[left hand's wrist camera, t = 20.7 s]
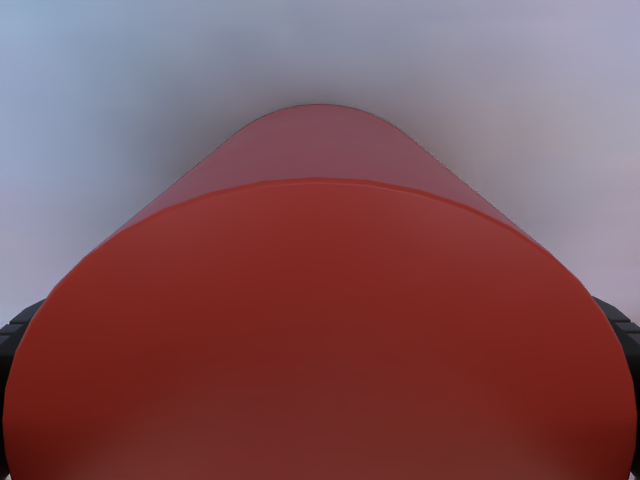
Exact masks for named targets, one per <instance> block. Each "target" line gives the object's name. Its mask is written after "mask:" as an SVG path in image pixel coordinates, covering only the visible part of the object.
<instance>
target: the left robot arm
mask: <svg viewBox="0 0 640 480" xmlns="http://www.w3.org/2000/svg"><path fill="white" fill-rule="evenodd" d="M592 297H593V299H594V300H595V301H596V302H597V304H598V305H599V306H600V308H601V309H602V310H603V312H604V313H605V315H606V317H607V319H608V321H609V323H610V324H611V326H612V328H613V330H614V332H615V334H616V336H617V338H618V340H619V342H620V343H621V345H622V348H623V351H624V355H625V358H626V361H627V364H628V367H629V370H630V373H631V377H632V380H633V385H634V393H635V401H636V409H637V432H636V449H635V453H634V458H633V462H632V467H631V472H632V474H633V475H634V476H635V478H634V480H640V327H638V326H637V325H636V324H635V323H631V320H630V319H629V318H627V317H626V316H625V315H624V314H623V313H621V312H620V311H619V310H618V309H617V308H615V307H614V306H612V305H610V304H608V303H606V302H604V301H602V300H600V299H598V298H596V297H594V296H592ZM44 301H45V299H44V300H42V301H40V302H38V303H36V304H34V305H32V306H30V307H28V308H26V309H24V310H23V311H22V312H21V313H20V314H18V315H17V316H16V317H15V318H14V319H12V320H11V321H10V324H6V325H5V326H4V327H3V328H2V329H0V480H6V477H7V476H8V475H9V473H10V472H9V468H8V464H7V460H6V456H5V449H4V437H3V425H2V418H3V408H4V397H5V388H6V384H7V380H8V377H9V373H10V370H11V366H12V363H13V359H14V355H15V352H16V350H17V348H18V346H19V344H20V342H21V340H22V337H23V335H24V333H25V331H26V329H27V327H28V325H29V323H30V321H31V319H32V317H33V316H34V315H35V313H36V312H37V310H38V309H39V308H40V306H41V305H42V304H43V302H44Z"/></svg>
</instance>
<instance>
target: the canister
mask: <svg viewBox="0 0 640 480" xmlns="http://www.w3.org/2000/svg"><path fill="white" fill-rule="evenodd" d="M2 425H3V437H4V449H5V456H6V460H7V464H8V468H9V472H10V475H11V479H12V480H628V479H629V475H630V471H631V467H632V462H633V458H634V453H635V449H636V432H637V409H636V401H635V393H634V385H633V380H632V377H631V373H630V370H629V367H628V364H627V361H626V358H625V355H624V351H623V348H622V345H621V343H620V342H619V340H618V338H617V336H616V334H615V332H614V330H613V328H612V326H611V324H610V323H609V321H608V319H607V317H606V315H605V313H604V312H603V310H602V309H601V308H600V306H599V305H598V304H597V302H596V301H595V300H594V299H593V297H592V296H591V295H590V293H589V292H588V291H587V289H586V288H585V287H584V286H583V284H582V283H581V282H580V281H579V280H578V279H577V278H576V277H575V276H574V275H573V274H572V273H571V272H570V271H569V270H568V269H567V268H566V267H565V266H563V265H562V264H561V263H560V262H559V261H558V260H557V259H556V258H555V257H554V256H553V255H552V254H551V253H550V252H548V251H547V250H546V249H545V248H544V247H542V246H541V245H540V244H539V243H538V242H536V241H535V240H534V239H533V238H531V237H530V236H529V235H528V234H527V233H525V232H524V231H523V230H522V229H520V228H519V227H518V226H517V225H516V224H514V223H513V222H512V221H511V220H509V219H508V218H507V217H506V216H505V215H503V214H502V213H501V212H500V211H498V210H497V209H496V208H495V207H494V206H492V205H491V204H490V203H489V202H488V201H486V200H485V199H484V198H483V197H481V196H480V195H479V194H478V193H477V192H475V191H474V190H473V189H472V188H470V187H469V186H468V185H467V184H466V183H464V182H463V181H462V180H461V179H459V178H458V177H457V176H456V175H455V174H453V173H452V172H451V171H450V170H449V169H447V168H446V167H445V166H444V165H442V164H441V163H440V162H439V161H438V160H436V159H435V158H434V157H433V156H431V155H430V154H429V153H428V152H427V151H425V150H424V149H423V148H422V147H420V146H419V145H418V144H417V143H416V142H414V141H413V140H412V139H411V138H409V137H408V136H407V135H406V134H405V133H403V132H402V131H400V130H399V129H397V128H396V127H395V126H393V125H392V124H390V123H388V122H386V121H384V120H383V119H381V118H379V117H377V116H375V115H372V114H369V113H366V112H364V111H361V110H358V109H354V108H349V107H344V106H339V105H325V104H314V105H301V106H296V107H291V108H286V109H282V110H279V111H276V112H273V113H271V114H268V115H265V116H263V117H261V118H259V119H257V120H255V121H254V122H252V123H250V124H248V125H247V126H245V127H244V128H242V129H241V130H240V131H238V132H237V133H236V134H234V135H233V136H232V137H230V138H229V139H228V140H227V141H226V142H224V143H223V144H222V145H221V146H219V147H218V148H217V149H216V150H215V151H213V152H212V153H211V154H210V155H208V156H207V157H206V158H205V159H204V160H202V161H201V162H200V163H199V164H197V165H196V166H195V167H194V168H193V169H191V170H190V171H189V172H188V173H186V174H185V175H184V176H183V177H182V178H180V179H179V180H178V181H177V182H175V183H174V184H173V185H172V186H171V187H169V188H168V189H167V190H166V191H164V192H163V193H162V194H161V195H160V196H158V197H157V198H156V199H155V200H153V201H152V202H151V203H150V204H149V205H147V206H146V207H145V208H144V209H142V210H141V211H140V212H139V213H138V214H136V215H135V216H134V217H133V218H131V219H130V220H129V221H128V222H127V223H125V224H124V225H123V226H122V227H120V228H119V229H118V230H117V231H116V232H114V233H113V234H112V235H111V236H109V237H108V238H107V239H106V240H105V241H103V242H102V243H101V244H100V245H98V246H97V247H96V248H95V249H94V250H92V251H91V252H90V253H89V254H87V255H86V256H85V257H84V258H83V259H82V260H81V261H80V262H79V263H78V264H77V265H76V266H75V267H74V268H73V269H72V270H71V271H70V272H69V273H68V274H67V275H66V276H65V277H64V278H63V279H62V280H61V281H60V282H59V283H58V284H57V285H56V286H55V287H54V288H53V290H52V291H51V292H50V294H49V295H48V297H47V298H46V299H45V301H44V302H43V304H42V305H41V306H40V308H39V309H38V310H37V312H36V313H35V315H34V316H33V317H32V319H31V321H30V323H29V325H28V327H27V329H26V331H25V333H24V335H23V337H22V340H21V342H20V344H19V346H18V348H17V350H16V352H15V355H14V359H13V363H12V366H11V370H10V373H9V377H8V380H7V384H6V388H5V397H4V408H3V418H2Z"/></svg>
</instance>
